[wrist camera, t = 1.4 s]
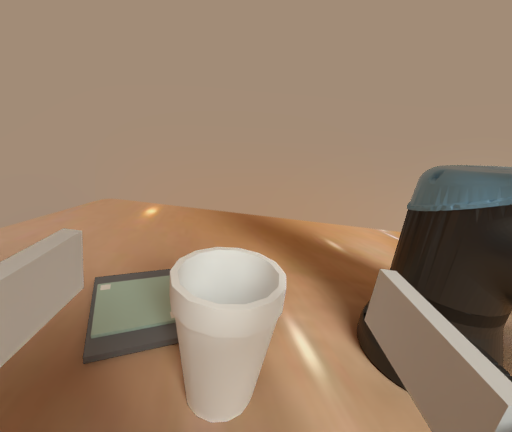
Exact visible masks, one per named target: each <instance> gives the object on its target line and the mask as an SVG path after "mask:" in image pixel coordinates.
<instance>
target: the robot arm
mask: <svg viewBox="0 0 512 432" xmlns="http://www.w3.org/2000/svg"><path fill="white" fill-rule="evenodd" d="M407 208H408V211H407V215H406V218H405V221H404V225H403V228H402V231H401V235H400V238H399V241H398V245H397V248H396V251H395V255H394V258H393V261H392V264H391V268H390V270H385V269H380V271H379V274H378V277H377V280H376V284H375V287H374V290H373V293H372V297H371V300H370V301H369V302H368V303H367V305H366V306H365V307H364V309H363V311H362V313H361V316H360V319H359V322H358V326H357V336H358V340H359V343H360V345H361V347H362V349H363V351H364V352H365V354H366V355H367V356H368V358H369V359H370V360H371V362H372V363H373V364H374V365H375V366H376V367H377V368H378V369H379V370H380V371H381V372H382V373H383V374H385V375H386V376H387V377H388V378H389V379H391V380H392V381H393V382H395V383H396V384H398V385H399V386H401V387H402V388H404V389H405V390H407V391H408V393H409V395H410V396H411V398H412V400H413V401H414V403H415V405H416V406H417V408H418V409H419V411H420V413H421V414H422V416H423V418H424V419H425V421H426V423H427V424H428V426H429V428H430V429H431V431H432V432H512V377H511V376H510V374H509V373H508V372H507V371H506V370H505V369H504V368H503V328H504V325H505V323H506V321H507V319H508V317H509V315H510V313H511V311H512V167H498V166H468V165H466V166H465V165H464V166H463V165H457V166H456V165H450V166H437V167H434V168H431V169H429V170H427V171H426V172H424V173H423V174H422V176H421V177H420V179H419V181H418V183H417V186H416V188H415V191H414V194H413V196H412V199H411V201H410V202H409V203H408V205H407ZM83 288H84V276H83V243H82V231H80V230H73V229H65V228H63V229H61V230H59V231H57V232H56V233H54V234H52V235H50V236H48V237H46V238H44V239H42V240H41V241H39V242H37V243H35V244H33V245H31V246H29V247H28V248H26V249H24V250H22V251H20V252H18V253H16V254H14V255H13V256H11V257H9V258H7V259H5V260H3V261H1V262H0V368H1V367H2V366H3V365H4V364H5V363H6V362H7V361H8V360H9V359H10V358H11V357H12V356H13V355H14V354H15V353H16V352H17V351H18V350H19V349H20V348H22V347H23V346H24V345H25V344H26V343H27V342H28V341H29V340H30V339H31V338H32V337H33V336H34V335H35V334H36V333H37V332H38V331H39V330H40V329H41V328H42V327H43V326H44V325H46V324H47V323H48V322H49V321H50V320H51V319H52V318H53V317H54V316H55V315H56V314H57V313H58V312H59V311H60V310H61V309H62V308H63V307H64V306H65V305H66V304H67V303H68V302H69V301H71V300H72V299H73V298H74V297H75V296H76V295H77V294H78V293H79V292H80V291H81V290H82V289H83Z"/></svg>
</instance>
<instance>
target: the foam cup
mask: <svg viewBox="0 0 512 432" xmlns="http://www.w3.org/2000/svg"><path fill="white" fill-rule="evenodd" d="M285 293H286V274H285V272H284V271H283V270H282V269H281V268H280V266H279V265H278V264H277V263H276V262H275V261H273V260H271V259H269V258H267V257H266V256H264V255H262V254H260V253H257V252H253V251H249V250H245V249H241V248H230V247H214V248H208V249H202V250H196V251H194V252H192V253H190V254H188V255H186V256H184V257H181V258H179V259H178V261H177V262H176V263H175V265H174V266H173V267H172V269H171V270H170V292H169V296H170V304H171V312H172V314H173V315H174V316H175V321H176V328H177V335H178V342H179V349H180V357H181V364H182V371H183V378H184V385H185V392H186V399H187V404H188V406H189V407H190V408H191V410H192V411H193V412H194V414H195V415H196V416H197V417H200V418H202V419H204V420H206V421H209V422H211V423H212V422H228V421H230V420H231V419H233V418H235V417H237V416H239V415H240V414H242V412H243V411H244V409H245V408H246V407H247V405H248V404H249V402H250V399H251V397H252V394H253V391H254V388H255V385H256V382H257V379H258V376H259V373H260V370H261V367H262V364H263V361H264V358H265V355H266V352H267V349H268V346H269V343H270V340H271V337H272V334H273V331H274V328H275V325H276V322H277V319H278V318H279V316H280V315H281V314H282V310H283V304H284V299H285Z"/></svg>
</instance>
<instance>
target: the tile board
mask: <svg viewBox="0 0 512 432" xmlns="http://www.w3.org/2000/svg"><path fill="white" fill-rule="evenodd" d="M170 270H171V269H166V270H157V271H148V272H139V273H130V274H121V275H113V276H104V277H95V282H94V289H93V295H92V302H91V308H90V315H89V321H88V328H87V334H86V341H85V347H84V354H83V363H84V364H85V363H90V362H94V361H99V360H103V359H108V358H112V357H117V356H122V355H126V354H131V353H135V352H140V351H144V350H149V349H153V348H158V347H162V346H167V345H171V344H176V343H179V342H178V335H177V328H176V321H175V316H174V315H173V314H172V312H171V304H170V296H169V292H170Z"/></svg>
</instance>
